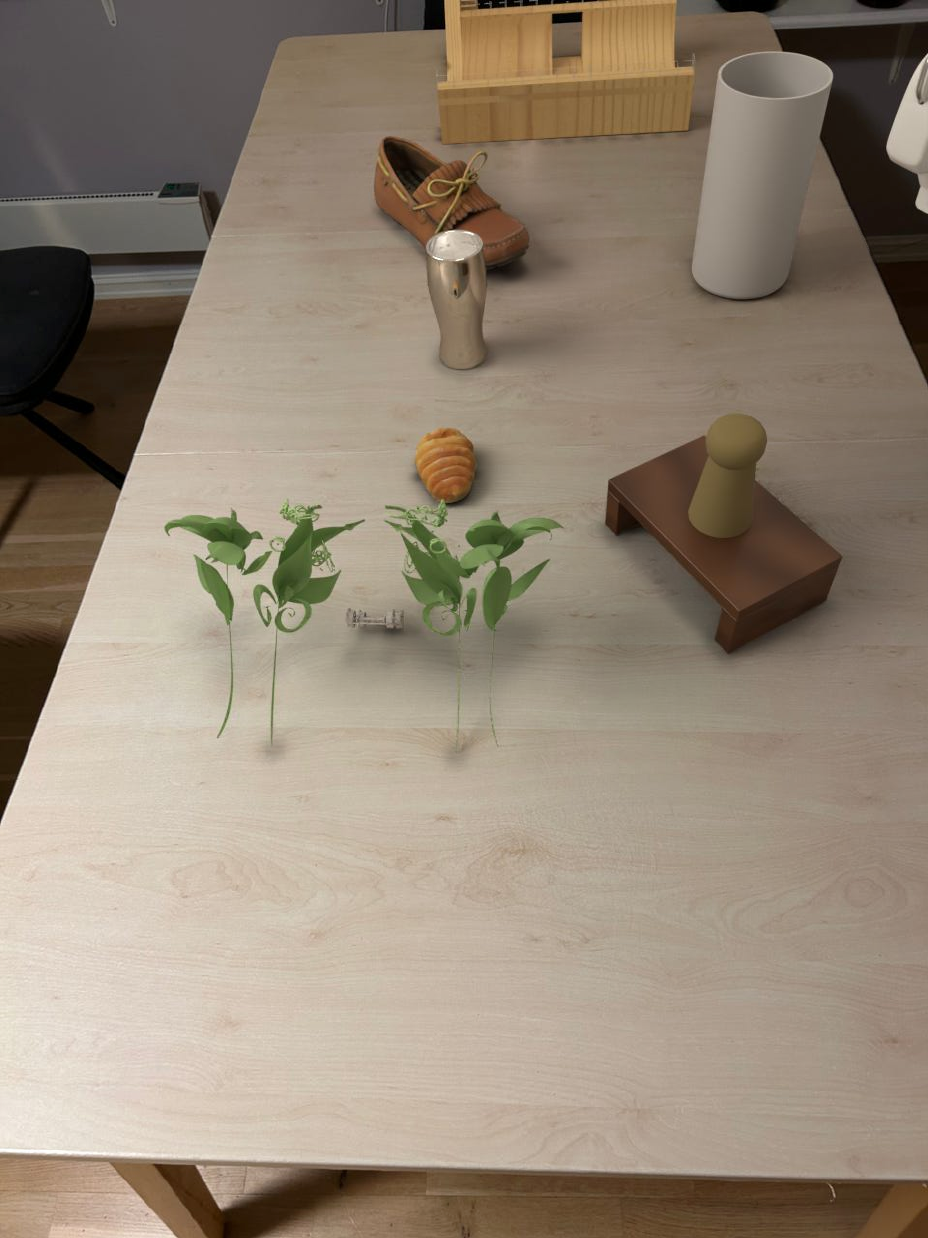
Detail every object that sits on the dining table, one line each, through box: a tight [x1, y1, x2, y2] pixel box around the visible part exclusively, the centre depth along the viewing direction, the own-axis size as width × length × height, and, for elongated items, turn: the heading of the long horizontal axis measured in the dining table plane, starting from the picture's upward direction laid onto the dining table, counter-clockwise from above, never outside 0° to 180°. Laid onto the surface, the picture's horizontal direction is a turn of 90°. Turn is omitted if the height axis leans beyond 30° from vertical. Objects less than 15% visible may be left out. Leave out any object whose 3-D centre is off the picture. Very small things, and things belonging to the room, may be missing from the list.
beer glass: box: [425, 230, 488, 370], centre depth 112 cm, size 7×7×15 cm
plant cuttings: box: [164, 498, 564, 753], centre depth 84 cm, size 35×17×22 cm
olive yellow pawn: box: [688, 413, 768, 538], centre depth 85 cm, size 6×6×11 cm
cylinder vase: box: [691, 51, 834, 300], centre depth 115 cm, size 12×12×25 cm
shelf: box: [604, 435, 844, 655], centre depth 92 cm, size 12×20×6 cm, turn 29°
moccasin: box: [373, 135, 531, 270], centre depth 130 cm, size 31×12×12 cm, turn 26°
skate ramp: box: [435, 0, 697, 145], centre depth 156 cm, size 40×35×16 cm
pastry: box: [414, 427, 478, 504], centre depth 103 cm, size 9×7×4 cm
